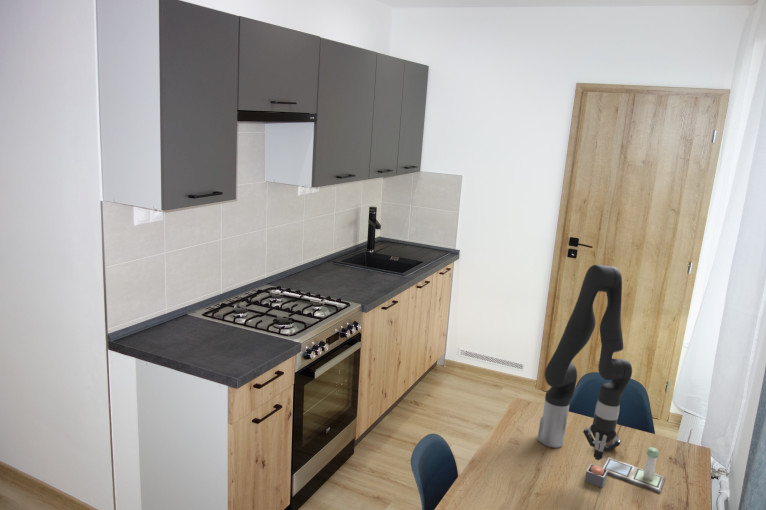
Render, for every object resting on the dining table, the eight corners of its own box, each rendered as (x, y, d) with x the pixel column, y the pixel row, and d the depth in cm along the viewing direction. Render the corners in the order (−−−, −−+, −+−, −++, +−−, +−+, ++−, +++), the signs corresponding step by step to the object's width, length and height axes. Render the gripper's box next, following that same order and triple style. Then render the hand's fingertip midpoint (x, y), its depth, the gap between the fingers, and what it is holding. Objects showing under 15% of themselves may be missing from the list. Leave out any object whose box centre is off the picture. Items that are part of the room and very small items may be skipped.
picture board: (600, 471, 218) (600, 469, 218) (607, 458, 228) (607, 456, 227) (659, 493, 208) (660, 490, 208) (664, 478, 217) (665, 476, 217)
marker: (641, 478, 215) (647, 450, 212) (643, 473, 217) (648, 446, 215) (652, 481, 213) (657, 453, 210) (654, 477, 216) (659, 449, 213)
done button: (588, 478, 212) (589, 469, 211) (591, 472, 215) (592, 464, 215) (600, 483, 209) (602, 474, 209) (603, 477, 213) (605, 468, 212)
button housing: (584, 481, 212) (586, 471, 211) (589, 473, 217) (590, 463, 216) (602, 487, 209) (604, 477, 208) (606, 480, 214) (608, 469, 213)
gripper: (629, 416, 206) (619, 461, 211) (590, 403, 213) (581, 447, 217) (624, 424, 200) (614, 471, 204) (584, 411, 207) (575, 456, 211)
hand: (597, 458), depth 211 cm, fingers closed
